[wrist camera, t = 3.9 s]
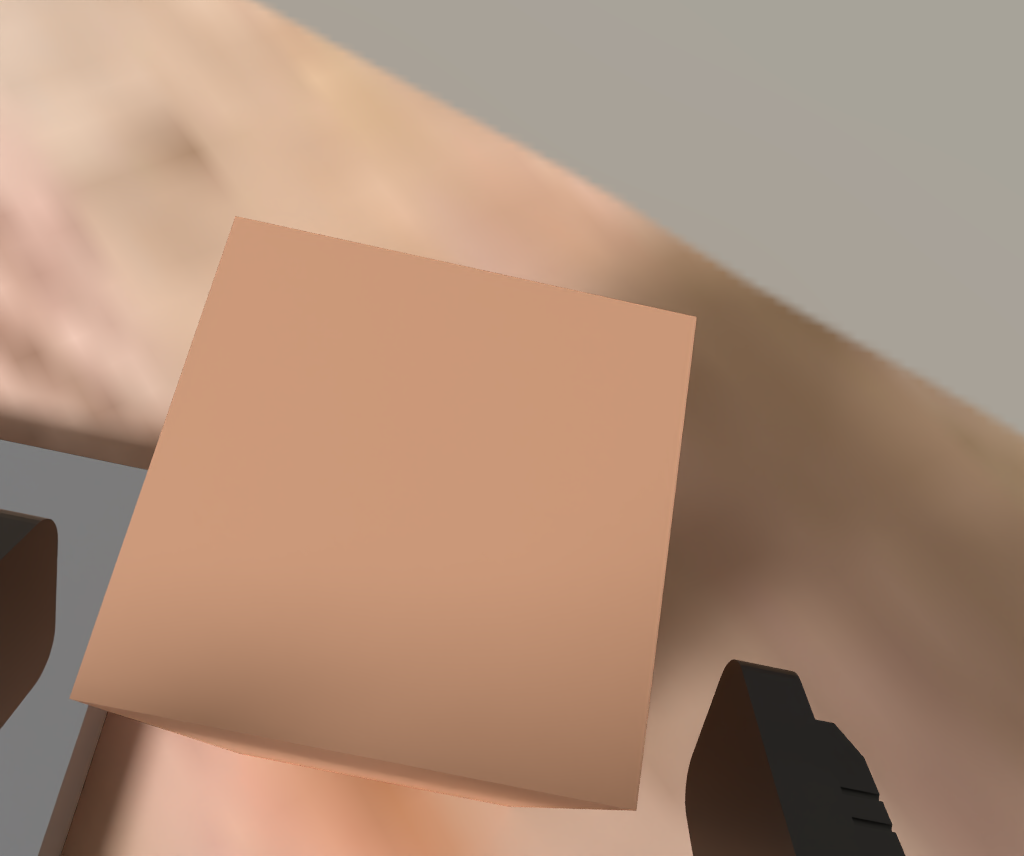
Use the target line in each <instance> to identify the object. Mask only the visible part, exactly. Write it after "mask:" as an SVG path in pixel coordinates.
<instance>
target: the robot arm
mask: <svg viewBox="0 0 1024 856" xmlns="http://www.w3.org/2000/svg"><path fill="white" fill-rule="evenodd" d="M57 557H58V532H57V527H56V524H55V523H54V521H53V520H52V519H48V518H43V517H39V516H34V515H29V514H24V513H19V512H14V511H9V510H4V509H0V729H1V728H2V727H3V725H4V724H5V723H6V721H7V720H8V719H9V718H10V716H11V715H12V714H13V712H14V711H15V710H16V709H17V707H18V706H19V705H20V703H21V702H22V701H23V700H24V698H25V697H26V696H27V694H28V693H29V692H30V691H31V689H32V688H33V687H34V685H35V684H36V683H37V681H38V680H39V678H40V676H41V674H42V672H43V670H44V668H45V666H46V664H47V661H48V658H49V656H50V653H51V649H52V645H53V641H54V635H55V623H56V590H57ZM879 795H880V794H879V792H878V790H877V787H876V785H875V783H874V780H873V778H872V775H871V773H870V771H869V768H868V766H867V764H866V761H865V759H864V757H863V756H862V755H861V754H860V753H859V751H858V750H857V749H856V748H855V747H854V746H853V745H852V743H851V742H850V741H849V740H848V739H847V738H846V737H845V735H844V734H843V733H842V732H841V731H840V730H839V729H838V727H837V726H836V725H835V724H834V723H830V722H825V721H820V720H815V718H814V715H813V713H812V710H811V707H810V705H809V702H808V699H807V697H806V694H805V691H804V689H803V686H802V683H801V681H800V679H799V676H798V675H797V674H796V673H795V672H793V671H788V670H783V669H778V668H773V667H769V666H764V665H759V664H754V663H749V662H744V661H739V660H731V661H730V662H729V663H728V664H727V666H726V667H725V669H724V671H723V673H722V676H721V678H720V681H719V684H718V687H717V689H716V692H715V695H714V697H713V700H712V703H711V706H710V708H709V711H708V714H707V717H706V719H705V722H704V725H703V727H702V730H701V733H700V736H699V738H698V741H697V744H696V747H695V749H694V752H693V755H692V758H691V761H690V765H689V769H688V775H687V781H686V793H685V806H686V816H687V822H688V828H689V834H690V840H691V846H692V852H693V856H905V854H904V851H903V849H902V847H901V844H900V842H899V840H898V837H897V835H896V833H895V832H892V823H891V821H890V818H889V816H888V813H887V811H886V809H885V806H884V804H883V802H881V801H879Z"/></svg>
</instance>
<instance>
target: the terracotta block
mask: <svg viewBox="0 0 1024 856" xmlns="http://www.w3.org/2000/svg"><path fill="white" fill-rule="evenodd" d="M696 319H697V317H695V316H690V315H686V314H681V313H676V312H672V311H667V310H663V309H658V308H654V307H649V306H644V305H640V304H635V303H631V302H626V301H622V300H617V299H612V298H608V297H603V296H599V295H594V294H590V293H585V292H580V291H576V290H571V289H567V288H562V287H557V286H553V285H548V284H544V283H539V282H535V281H530V280H525V279H521V278H516V277H512V276H507V275H503V274H498V273H493V272H489V271H484V270H480V269H475V268H471V267H466V266H461V265H457V264H452V263H448V262H443V261H439V260H434V259H429V258H425V257H420V256H416V255H411V254H407V253H402V252H397V251H393V250H388V249H384V248H379V247H374V246H370V245H365V244H361V243H356V242H352V241H347V240H342V239H338V238H333V237H329V236H324V235H320V234H315V233H310V232H306V231H301V230H297V229H292V228H288V227H283V226H278V225H274V224H269V223H265V222H260V221H256V220H251V219H246V218H242V217H237V216H235V219H234V222H233V225H232V228H231V231H230V234H229V237H228V239H227V242H226V245H225V248H224V251H223V254H222V257H221V260H220V263H219V266H218V269H217V271H216V274H215V277H214V280H213V283H212V286H211V289H210V292H209V295H208V298H207V300H206V303H205V306H204V309H203V312H202V315H201V318H200V321H199V324H198V327H197V329H196V332H195V335H194V338H193V341H192V344H191V347H190V350H189V353H188V356H187V358H186V361H185V364H184V367H183V370H182V373H181V376H180V379H179V382H178V385H177V387H176V390H175V393H174V396H173V399H172V402H171V405H170V408H169V411H168V414H167V416H166V419H165V422H164V425H163V428H162V431H161V434H160V437H159V440H158V443H157V445H156V448H155V451H154V454H153V457H152V460H151V463H150V466H149V469H148V472H147V474H146V477H145V480H144V483H143V486H142V489H141V492H140V495H139V498H138V501H137V503H136V506H135V509H134V512H133V515H132V518H131V521H130V524H129V527H128V530H127V533H126V535H125V538H124V541H123V544H122V547H121V550H120V553H119V556H118V559H117V562H116V564H115V567H114V570H113V573H112V576H111V579H110V582H109V585H108V588H107V591H106V593H105V596H104V599H103V602H102V605H101V608H100V611H99V614H98V617H97V620H96V622H95V625H94V628H93V631H92V634H91V637H90V640H89V643H88V646H87V649H86V651H85V654H84V657H83V660H82V663H81V666H80V669H79V672H78V675H77V678H76V680H75V683H74V686H73V689H72V692H71V695H70V698H69V699H72V700H75V701H78V702H81V703H84V704H87V705H90V706H93V707H97V708H100V709H103V710H106V711H109V712H112V713H115V714H118V715H121V716H124V717H128V718H131V719H134V720H137V721H140V722H143V723H146V724H149V725H152V726H156V727H159V728H162V729H165V730H168V731H171V732H174V733H177V734H180V735H184V736H187V737H190V738H193V739H196V740H199V741H202V742H205V743H208V744H212V745H215V746H218V747H221V748H224V749H227V750H230V751H233V752H236V753H239V754H244V755H249V756H254V757H259V758H264V759H270V760H275V761H280V762H285V763H290V764H295V765H300V766H305V767H310V768H315V769H320V770H326V771H331V772H336V773H341V774H346V775H351V776H356V777H361V778H366V779H371V780H376V781H382V782H387V783H392V784H397V785H402V786H407V787H412V788H417V789H422V790H427V791H433V792H438V793H443V794H448V795H453V796H458V797H463V798H468V799H473V800H478V801H483V802H489V803H494V804H499V805H504V806H509V807H539V808H571V809H603V810H635V811H636V809H637V801H638V792H639V784H640V776H641V768H642V760H643V752H644V743H645V735H646V727H647V719H648V711H649V703H650V694H651V686H652V678H653V670H654V662H655V654H656V645H657V637H658V629H659V621H660V613H661V605H662V596H663V588H664V580H665V572H666V564H667V556H668V547H669V539H670V531H671V523H672V515H673V507H674V498H675V490H676V482H677V474H678V466H679V458H680V449H681V441H682V433H683V425H684V417H685V409H686V400H687V392H688V384H689V376H690V368H691V360H692V351H693V343H694V335H695V327H696Z"/></svg>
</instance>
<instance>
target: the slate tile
mask: <svg viewBox="0 0 1024 856" xmlns="http://www.w3.org/2000/svg"><path fill="white" fill-rule="evenodd" d="M147 472H148V470H145V469H140V468H135V467H130V466H125V465H121V464H116V463H111V462H106V461H101V460H96V459H92V458H87V457H82V456H77V455H72V454H68V453H63V452H58V451H53V450H48V449H43V448H39V447H34V446H29V445H24V444H19V443H14V442H10V441H5V440H0V509H4V510H9V511H14V512H19V513H24V514H29V515H34V516H39V517H43V518H48V519H52V520H53V521H54V523H55V524H56V527H57V532H58V557H57V590H56V623H55V635H54V641H53V645H52V649H51V653H50V656H49V658H48V661H47V664H46V666H45V668H44V670H43V672H42V674H41V676H40V678H39V680H38V681H37V683H36V684H35V685H34V687H33V688H32V689H31V691H30V692H29V693H28V694H27V696H26V697H25V698H24V700H23V701H22V702H21V703H20V705H19V706H18V707H17V709H16V710H15V711H14V712H13V714H12V715H11V716H10V718H9V719H8V720H7V721H6V723H5V724H4V725H3V727H2V728H1V729H0V856H60V855H61V852H62V849H63V846H64V843H65V840H66V837H67V834H68V831H69V828H70V825H71V822H72V819H73V816H74V813H75V810H76V807H77V804H78V800H79V797H80V794H81V791H82V788H83V785H84V782H85V779H86V776H87V773H88V770H89V767H90V764H91V761H92V758H93V755H94V752H95V749H96V746H97V743H98V740H99V737H100V733H101V730H102V727H103V724H104V721H105V718H106V715H107V712H108V711H106V710H103V709H100V708H97V707H93V706H90V705H87V704H84V703H81V702H78V701H75V700H72V699H69V698H70V695H71V692H72V689H73V686H74V683H75V680H76V678H77V675H78V672H79V669H80V666H81V663H82V660H83V657H84V654H85V651H86V649H87V646H88V643H89V640H90V637H91V634H92V631H93V628H94V625H95V622H96V620H97V617H98V614H99V611H100V608H101V605H102V602H103V599H104V596H105V593H106V591H107V588H108V585H109V582H110V579H111V576H112V573H113V570H114V567H115V564H116V562H117V559H118V556H119V553H120V550H121V547H122V544H123V541H124V538H125V535H126V533H127V530H128V527H129V524H130V521H131V518H132V515H133V512H134V509H135V506H136V503H137V501H138V498H139V495H140V492H141V489H142V486H143V483H144V480H145V477H146V474H147Z"/></svg>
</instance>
